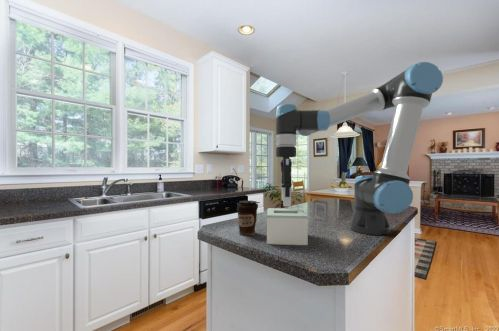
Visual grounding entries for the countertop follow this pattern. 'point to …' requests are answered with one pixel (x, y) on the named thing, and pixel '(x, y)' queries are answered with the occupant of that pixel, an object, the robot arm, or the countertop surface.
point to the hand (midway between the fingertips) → (285, 203)
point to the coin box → (287, 226)
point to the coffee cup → (247, 217)
